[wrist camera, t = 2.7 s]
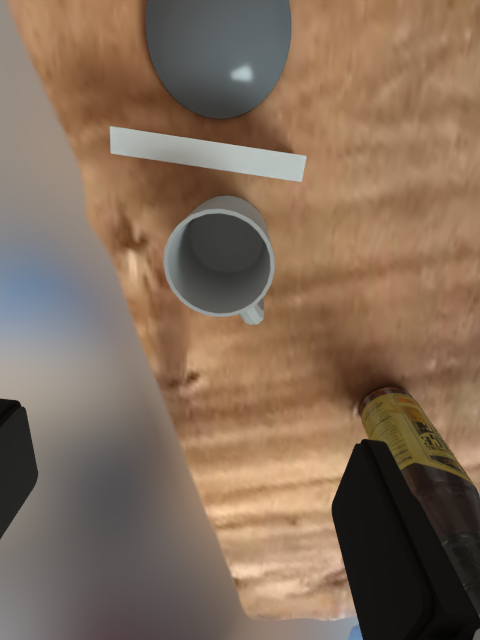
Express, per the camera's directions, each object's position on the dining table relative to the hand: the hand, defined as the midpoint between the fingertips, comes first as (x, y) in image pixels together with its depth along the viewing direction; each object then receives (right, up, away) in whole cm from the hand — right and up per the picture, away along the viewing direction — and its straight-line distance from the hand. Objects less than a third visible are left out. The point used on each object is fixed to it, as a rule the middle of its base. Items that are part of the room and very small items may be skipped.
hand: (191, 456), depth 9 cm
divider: (-1, +17, +17) cm, 24 cm away
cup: (+1, +10, +20) cm, 23 cm away
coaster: (0, +24, +13) cm, 27 cm away
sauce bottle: (+18, -6, +28) cm, 33 cm away
